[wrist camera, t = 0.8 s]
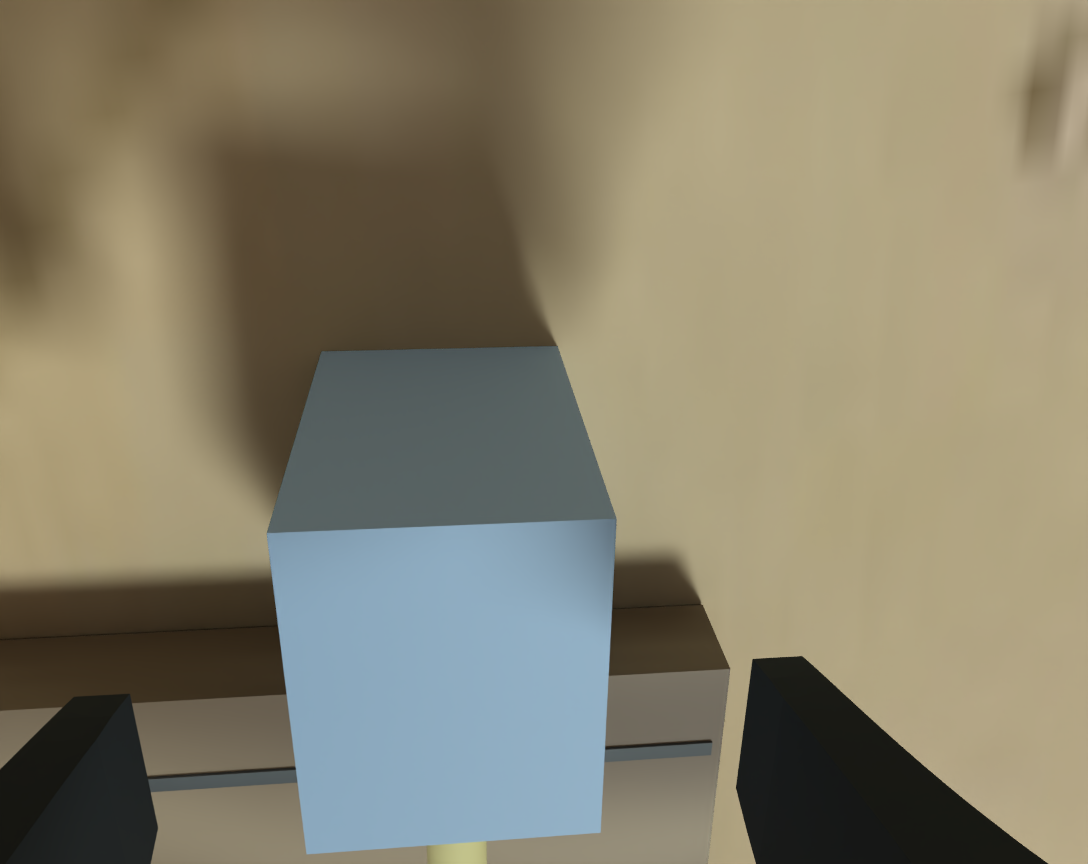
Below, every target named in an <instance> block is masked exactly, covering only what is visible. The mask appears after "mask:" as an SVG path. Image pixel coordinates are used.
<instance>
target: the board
mask: <svg viewBox="0 0 1088 864" xmlns="http://www.w3.org/2000/svg"><path fill="white" fill-rule="evenodd" d="M729 675H730V667H729V665H728V663H727V660H726V658H725V656H724V653H723V651H722V649H721V647H720V644H719V642H718V640H717V637H716V635H715V633H714V630H713V628H712V626H711V623H710V621H709V619H708V616H707V614H706V612H705V610H704V607H703V605H687V606H668V607H648V608H628V609H612V618H611V638H610V657H609V677H608V697H607V716H606V736H605V756H604V776H603V795H602V815H601V833H590V834H577V835H563V836H550V837H536V838H523V839H509V840H495V841H486V842H487V864H708V857H709V848H710V839H711V831H712V822H713V813H714V805H715V796H716V787H717V779H718V770H719V762H720V753H721V744H722V736H723V727H724V718H725V710H726V701H727V692H728V684H729ZM114 694H130V697H131V701H132V706H133V711H134V715H135V720H136V725H137V730H138V734H139V739H140V744H141V749H142V753H143V758H144V763H145V767H146V772H147V777H148V782H149V786H150V791H151V796H152V801H153V805H154V810H155V815H156V819H157V824H158V831H157V836H156V841H155V846H154V851H153V855H152V860H151V864H427V846H414V847H400V848H387V849H373V850H360V851H346V852H333V853H319V854H306V846H305V838H304V830H303V822H302V814H301V806H300V798H299V790H298V782H297V774H296V766H295V757H294V749H293V741H292V733H291V725H290V717H289V709H288V701H287V693H286V685H285V677H284V669H283V661H282V653H281V645H280V636H279V628H278V626H271V627H252V628H232V629H212V630H192V631H172V632H152V633H133V634H113V635H93V636H73V637H53V638H34V639H14V640H0V769H1V768H2V767H3V766H4V765H5V764H6V763H7V762H8V761H9V760H10V759H11V758H12V757H13V756H14V755H15V754H16V753H17V752H18V751H19V750H20V749H21V748H22V747H23V746H24V745H25V744H26V743H27V742H28V741H29V740H30V739H31V738H32V737H33V736H34V735H35V734H36V733H37V732H38V731H39V730H40V729H41V728H42V727H43V726H44V725H45V724H46V723H47V722H48V721H49V720H50V719H51V718H52V717H53V716H54V715H55V714H56V713H57V712H58V711H59V710H60V709H62V708H63V707H64V706H65V705H66V704H67V703H68V702H69V701H70V700H71V699H72V698H73V697H78V696H96V695H114Z"/></svg>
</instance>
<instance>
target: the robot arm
mask: <svg viewBox="0 0 1088 864" xmlns="http://www.w3.org/2000/svg"><path fill="white" fill-rule="evenodd" d="M736 789H737V793H738V797H739V801H740V805H741V809H742V813H743V817H744V821H745V825H746V829H747V833H748V836H749V840H750V843H751V847H752V851H753V854H754V858H755V861H756V864H1048V863H1046V862H1045V861H1044V860H1042V859H1041V858H1040V857H1038V856H1037V855H1035V854H1034V853H1033V852H1031V851H1030V850H1029V849H1027V848H1026V847H1024V846H1023V845H1022V844H1020V843H1019V842H1018V841H1016V840H1015V839H1014V838H1013V837H1011V836H1010V835H1009V834H1007V833H1006V832H1005V831H1004V830H1002V829H1001V828H1000V827H998V826H997V825H996V824H995V823H993V822H992V821H991V820H989V819H988V818H987V817H986V816H984V815H983V814H982V813H980V812H979V811H978V810H977V809H975V808H974V807H973V806H972V805H970V804H969V803H968V802H967V801H965V800H964V799H963V798H962V797H960V796H959V795H958V794H957V793H956V792H954V791H953V790H952V789H951V788H949V787H948V786H947V785H946V784H945V783H943V782H942V781H941V780H940V779H939V778H937V777H936V776H935V775H934V774H933V773H932V772H930V771H929V770H928V769H927V768H926V767H925V766H923V765H922V764H921V763H920V762H919V761H918V760H916V759H915V758H914V757H913V756H912V755H911V754H910V753H908V752H907V751H906V750H905V749H904V748H903V747H902V746H900V745H899V744H898V743H897V742H896V741H895V740H894V739H893V738H891V737H890V736H889V735H888V734H887V733H886V732H885V731H884V730H882V729H881V728H880V727H879V726H878V725H877V724H876V723H875V722H874V721H873V720H871V719H870V718H869V717H868V716H867V715H866V714H865V713H864V712H863V711H862V710H861V709H859V708H858V707H857V706H856V705H855V704H854V703H853V702H852V701H851V700H850V699H849V698H847V697H846V696H845V695H844V694H843V693H842V692H841V691H840V690H839V689H838V688H837V687H836V686H834V685H833V684H832V683H831V682H830V681H829V680H828V679H827V678H826V677H825V676H824V675H823V674H821V673H820V672H819V671H818V670H817V669H816V668H815V667H814V666H813V665H811V664H810V663H809V662H808V661H807V660H806V659H805V658H804V657H802V656H798V657H780V658H762V659H753V661H752V669H751V676H750V684H749V692H748V700H747V707H746V715H745V723H744V731H743V738H742V746H741V754H740V762H739V769H738V777H737V785H736ZM157 831H158V824H157V819H156V815H155V810H154V805H153V801H152V796H151V791H150V786H149V782H148V777H147V772H146V767H145V763H144V758H143V753H142V749H141V744H140V739H139V734H138V730H137V725H136V720H135V715H134V711H133V706H132V701H131V697H130V694H114V695H96V696H78V697H73V698H72V699H71V700H70V701H69V702H68V703H67V704H66V705H65V706H64V707H63V708H62V709H60V710H59V711H58V712H57V713H56V714H55V715H54V716H53V717H52V718H51V719H50V720H49V721H48V722H47V723H46V724H45V725H44V726H43V727H42V728H41V729H40V730H39V731H38V732H37V733H36V734H35V735H34V736H33V737H32V738H31V739H30V740H29V741H28V742H27V743H26V744H25V745H24V746H23V747H22V748H21V749H20V750H19V751H18V752H17V753H16V754H15V755H14V756H13V757H12V758H11V759H10V760H9V761H8V762H7V763H6V764H5V765H4V766H3V767H2V768H1V769H0V864H151V860H152V855H153V851H154V846H155V841H156V836H157Z"/></svg>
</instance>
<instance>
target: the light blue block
mask: <svg viewBox="0 0 1088 864" xmlns="http://www.w3.org/2000/svg"><path fill="white" fill-rule="evenodd" d="M615 539H616V516H615V513H614V510H613V507H612V504H611V501H610V498H609V495H608V492H607V490H606V487H605V484H604V481H603V478H602V475H601V472H600V469H599V466H598V463H597V460H596V457H595V454H594V452H593V449H592V446H591V443H590V440H589V437H588V434H587V431H586V428H585V425H584V422H583V419H582V416H581V414H580V411H579V408H578V405H577V402H576V399H575V396H574V393H573V390H572V387H571V384H570V381H569V378H568V376H567V373H566V370H565V367H564V364H563V361H562V358H561V355H560V352H559V349H558V346H535V347H492V348H449V349H406V350H362V351H321V355H320V358H319V361H318V364H317V368H316V371H315V374H314V378H313V381H312V384H311V388H310V391H309V394H308V398H307V401H306V404H305V408H304V411H303V414H302V418H301V421H300V424H299V428H298V431H297V434H296V438H295V441H294V444H293V448H292V451H291V454H290V458H289V461H288V464H287V467H286V471H285V474H284V477H283V481H282V484H281V487H280V491H279V494H278V497H277V501H276V504H275V507H274V511H273V514H272V517H271V521H270V524H269V527H268V531H267V540H268V548H269V556H270V564H271V572H272V580H273V588H274V596H275V604H276V612H277V620H278V628H279V636H280V645H281V653H282V661H283V669H284V677H285V685H286V693H287V701H288V709H289V717H290V725H291V733H292V741H293V749H294V757H295V766H296V774H297V782H298V790H299V798H300V806H301V814H302V822H303V830H304V838H305V846H306V854H319V853H333V852H346V851H360V850H373V849H387V848H400V847H414V846H427V864H487V842H486V841H495V840H509V839H523V838H536V837H550V836H563V835H577V834H590V833H601V815H602V795H603V776H604V756H605V736H606V716H607V697H608V677H609V657H610V638H611V618H612V598H613V578H614V559H615Z"/></svg>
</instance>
